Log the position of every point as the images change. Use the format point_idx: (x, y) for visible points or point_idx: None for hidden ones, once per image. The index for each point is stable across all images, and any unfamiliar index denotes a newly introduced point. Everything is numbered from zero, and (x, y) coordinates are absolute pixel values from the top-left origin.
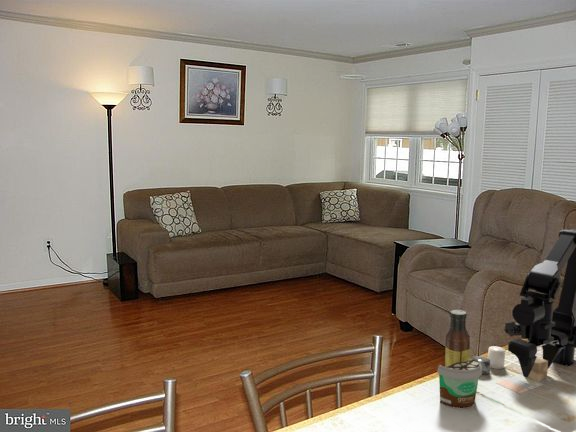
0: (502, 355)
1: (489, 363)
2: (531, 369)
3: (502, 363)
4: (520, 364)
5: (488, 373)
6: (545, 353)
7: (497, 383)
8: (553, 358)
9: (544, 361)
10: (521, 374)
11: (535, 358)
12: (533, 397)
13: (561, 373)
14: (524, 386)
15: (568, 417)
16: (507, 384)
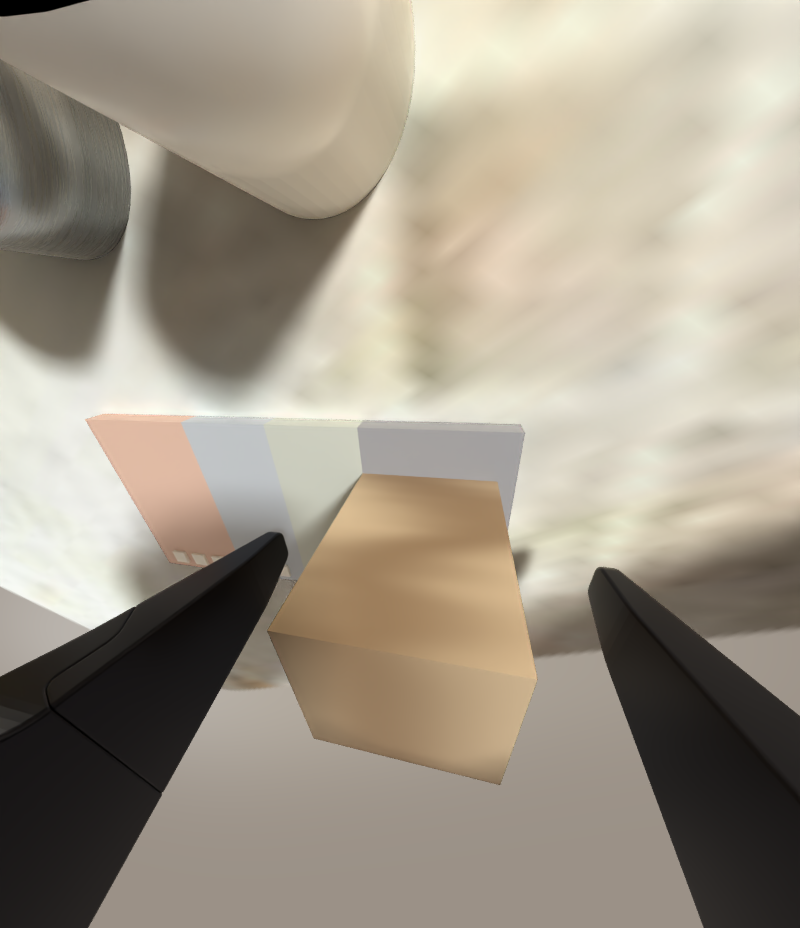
0: (77, 85)
1: None
2: (238, 654)
3: (256, 184)
4: (129, 615)
5: (64, 252)
6: (775, 838)
7: (92, 427)
8: (666, 821)
9: (437, 764)
10: (373, 440)
11: (81, 904)
12: None
13: (747, 585)
14: (244, 543)
15: (256, 683)
16: (153, 474)
